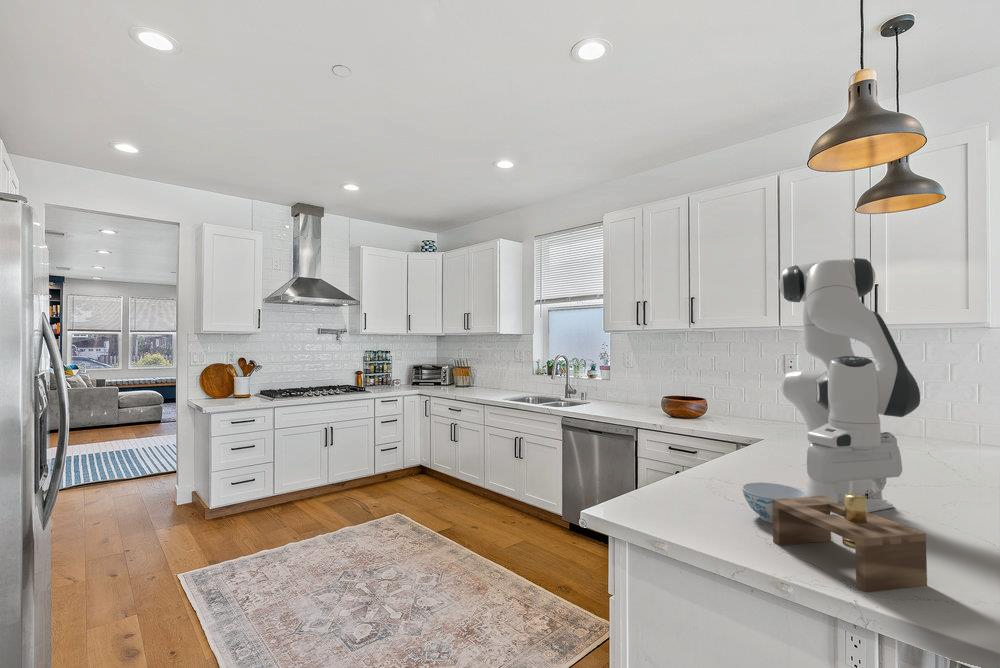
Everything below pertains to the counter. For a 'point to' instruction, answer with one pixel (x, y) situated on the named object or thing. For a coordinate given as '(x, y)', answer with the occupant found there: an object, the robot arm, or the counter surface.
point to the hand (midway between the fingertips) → (855, 500)
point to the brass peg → (854, 513)
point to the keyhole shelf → (856, 541)
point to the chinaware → (768, 497)
